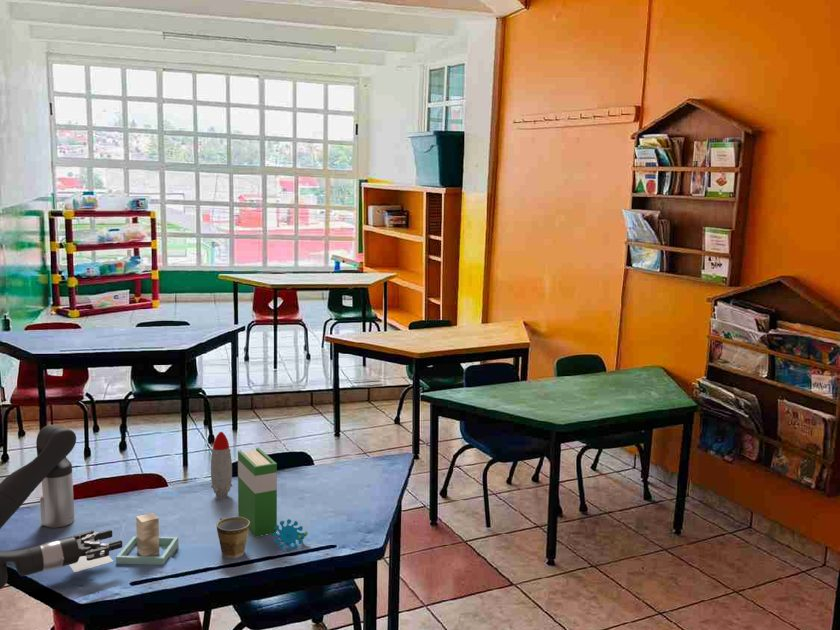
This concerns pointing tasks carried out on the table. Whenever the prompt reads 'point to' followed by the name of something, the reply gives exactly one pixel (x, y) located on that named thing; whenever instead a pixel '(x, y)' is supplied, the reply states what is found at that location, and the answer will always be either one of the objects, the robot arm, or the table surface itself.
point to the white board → (89, 563)
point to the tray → (165, 543)
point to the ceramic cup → (233, 536)
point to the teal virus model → (289, 535)
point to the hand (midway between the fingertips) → (116, 538)
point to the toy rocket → (221, 466)
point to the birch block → (147, 534)
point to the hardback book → (257, 491)
